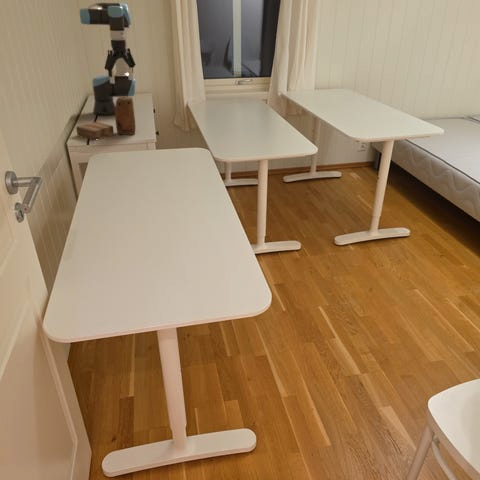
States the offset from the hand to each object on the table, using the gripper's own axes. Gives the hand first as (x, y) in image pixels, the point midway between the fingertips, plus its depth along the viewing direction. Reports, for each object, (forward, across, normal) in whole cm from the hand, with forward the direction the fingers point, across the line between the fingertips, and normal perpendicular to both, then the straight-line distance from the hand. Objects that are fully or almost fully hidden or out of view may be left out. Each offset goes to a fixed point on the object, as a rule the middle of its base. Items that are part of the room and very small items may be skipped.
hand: (121, 81), depth 245 cm
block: (+29, 0, 0) cm, 29 cm away
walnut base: (+29, -14, +10) cm, 34 cm away
